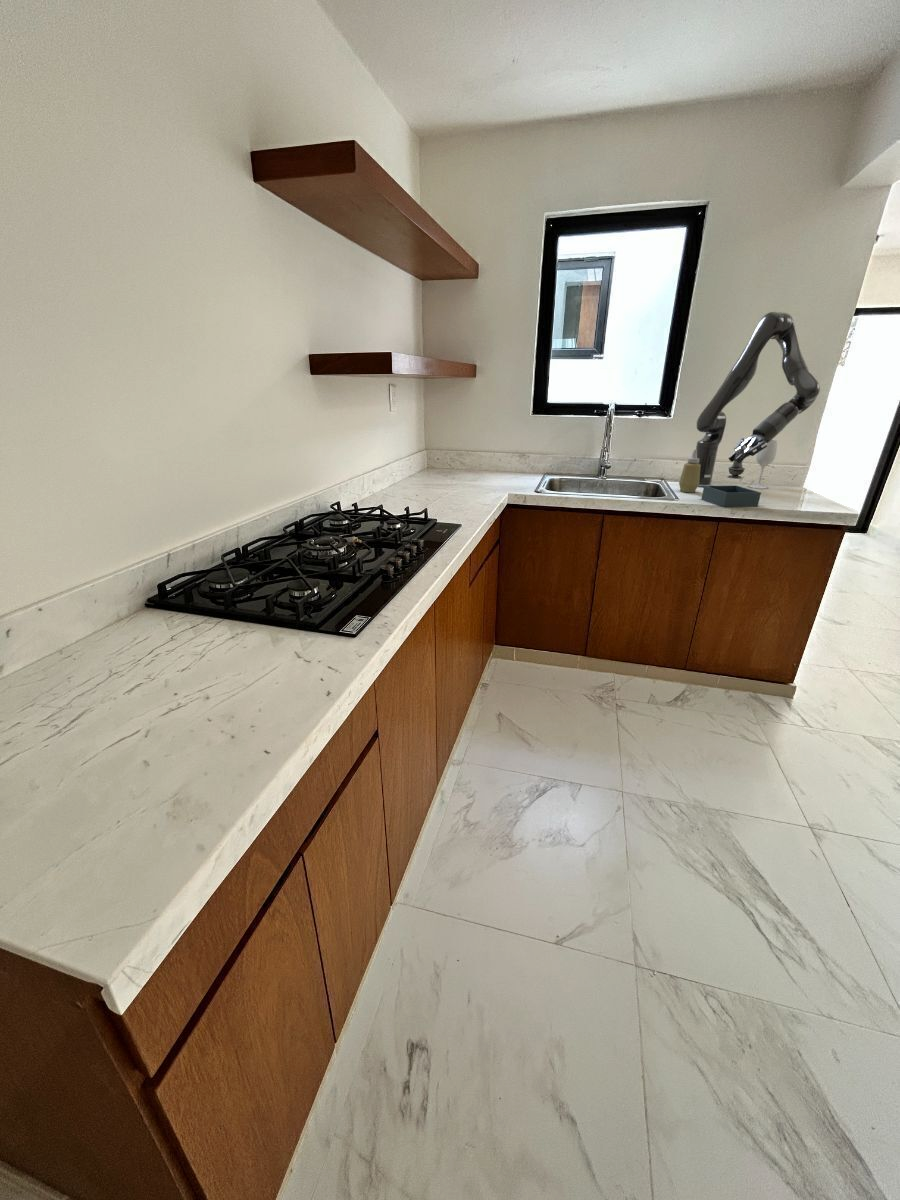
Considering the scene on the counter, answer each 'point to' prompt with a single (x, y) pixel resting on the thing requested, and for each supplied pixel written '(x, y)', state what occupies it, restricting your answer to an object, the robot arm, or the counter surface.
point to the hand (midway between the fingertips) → (733, 460)
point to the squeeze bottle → (690, 474)
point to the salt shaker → (736, 466)
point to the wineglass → (765, 459)
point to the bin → (731, 496)
